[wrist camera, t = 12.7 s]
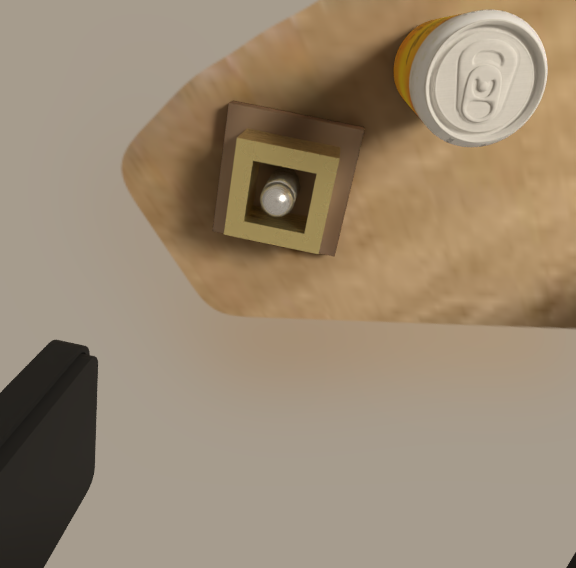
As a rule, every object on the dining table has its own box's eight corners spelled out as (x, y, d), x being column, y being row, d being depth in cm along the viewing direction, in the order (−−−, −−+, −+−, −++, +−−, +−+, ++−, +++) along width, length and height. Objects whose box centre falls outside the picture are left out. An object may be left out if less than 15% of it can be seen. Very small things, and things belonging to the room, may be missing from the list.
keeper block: (363, 127, 40) (366, 144, 34) (335, 249, 44) (332, 285, 38) (233, 100, 40) (210, 112, 34) (216, 225, 45) (194, 256, 38)
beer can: (489, 21, 36) (572, 12, 23) (471, 114, 39) (536, 156, 25) (399, 16, 37) (428, 4, 23) (387, 108, 39) (407, 146, 26)
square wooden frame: (340, 147, 39) (339, 158, 36) (321, 235, 42) (318, 254, 39) (247, 128, 40) (236, 137, 36) (234, 217, 43) (223, 234, 39)
